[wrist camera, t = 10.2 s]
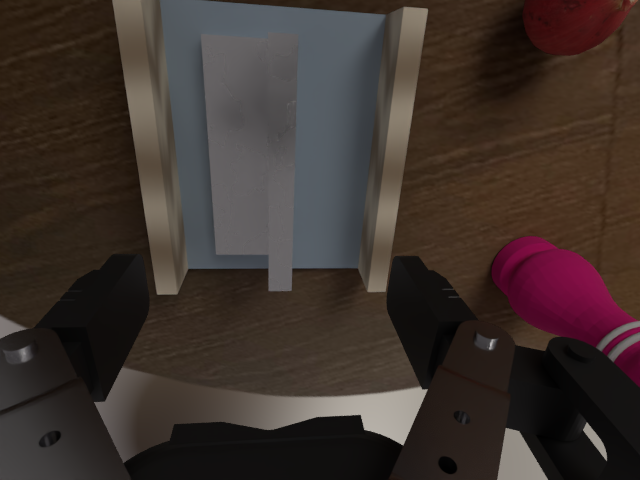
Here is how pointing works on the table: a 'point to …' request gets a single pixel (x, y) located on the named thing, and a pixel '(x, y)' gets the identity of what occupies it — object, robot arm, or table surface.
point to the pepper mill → (566, 299)
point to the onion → (572, 23)
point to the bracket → (253, 146)
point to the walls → (160, 153)
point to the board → (311, 124)
